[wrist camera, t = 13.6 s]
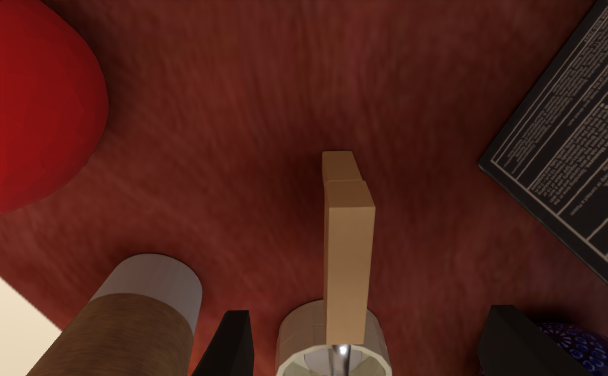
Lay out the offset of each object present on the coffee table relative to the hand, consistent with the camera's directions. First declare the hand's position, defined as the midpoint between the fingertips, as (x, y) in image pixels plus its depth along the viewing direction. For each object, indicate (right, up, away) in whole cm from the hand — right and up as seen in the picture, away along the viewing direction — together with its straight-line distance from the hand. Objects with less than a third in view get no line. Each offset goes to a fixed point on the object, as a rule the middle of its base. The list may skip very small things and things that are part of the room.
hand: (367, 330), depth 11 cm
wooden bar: (0, -1, +12) cm, 12 cm away
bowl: (0, -7, +16) cm, 17 cm away
